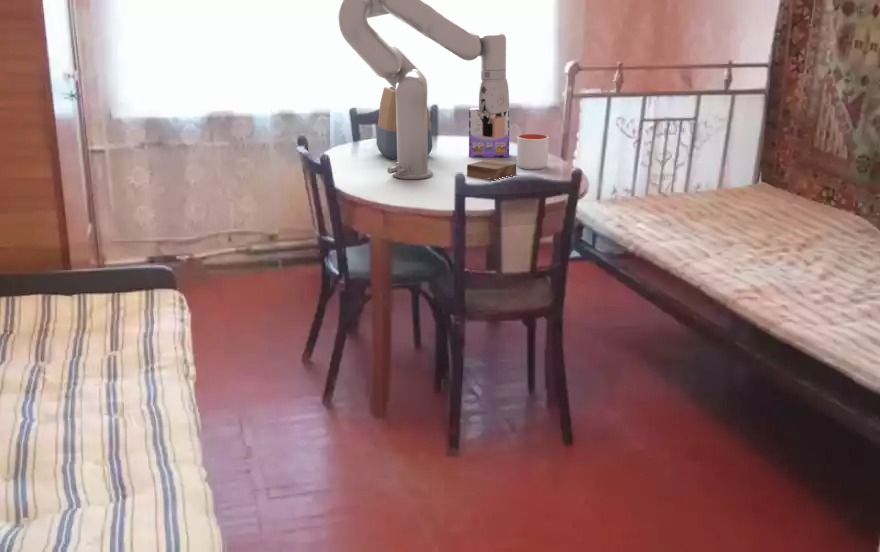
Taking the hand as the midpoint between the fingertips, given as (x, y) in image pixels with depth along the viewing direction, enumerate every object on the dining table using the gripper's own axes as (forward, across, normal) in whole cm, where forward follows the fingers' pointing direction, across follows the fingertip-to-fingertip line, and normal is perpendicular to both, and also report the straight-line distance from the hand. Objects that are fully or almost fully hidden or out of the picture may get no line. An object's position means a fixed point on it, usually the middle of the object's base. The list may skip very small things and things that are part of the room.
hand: (493, 134), depth 293 cm
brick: (+1, 0, 0) cm, 1 cm away
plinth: (+13, 0, 0) cm, 13 cm away
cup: (+13, +18, -3) cm, 22 cm away
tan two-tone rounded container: (+13, +6, +42) cm, 45 cm away
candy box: (+13, +24, +19) cm, 33 cm away
